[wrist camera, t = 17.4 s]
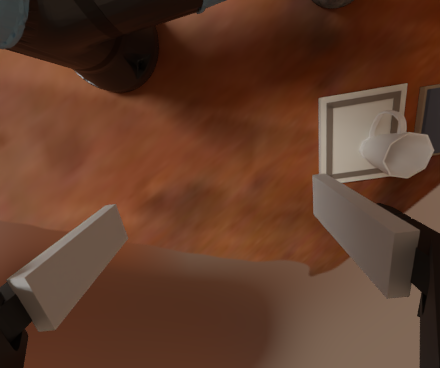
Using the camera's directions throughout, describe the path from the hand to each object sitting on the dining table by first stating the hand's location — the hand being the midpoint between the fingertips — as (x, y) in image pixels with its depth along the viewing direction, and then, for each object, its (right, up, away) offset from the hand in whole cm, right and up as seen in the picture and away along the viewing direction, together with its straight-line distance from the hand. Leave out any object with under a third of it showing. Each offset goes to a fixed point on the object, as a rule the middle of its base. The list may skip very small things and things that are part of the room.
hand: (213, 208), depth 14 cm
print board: (+26, +10, +24) cm, 36 cm away
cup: (+28, +10, +23) cm, 37 cm away
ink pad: (+38, +13, +23) cm, 46 cm away
